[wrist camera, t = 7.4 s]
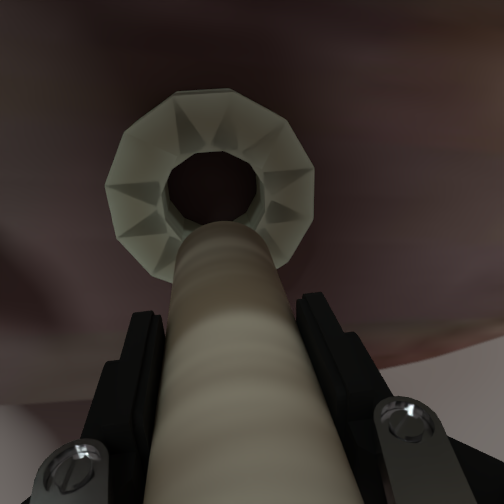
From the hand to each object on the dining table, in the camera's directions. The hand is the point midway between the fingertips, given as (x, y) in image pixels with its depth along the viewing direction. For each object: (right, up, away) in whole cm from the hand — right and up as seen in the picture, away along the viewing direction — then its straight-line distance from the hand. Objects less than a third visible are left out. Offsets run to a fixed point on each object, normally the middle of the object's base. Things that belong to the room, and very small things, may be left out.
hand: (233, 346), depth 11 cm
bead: (-2, +7, +15) cm, 17 cm away
